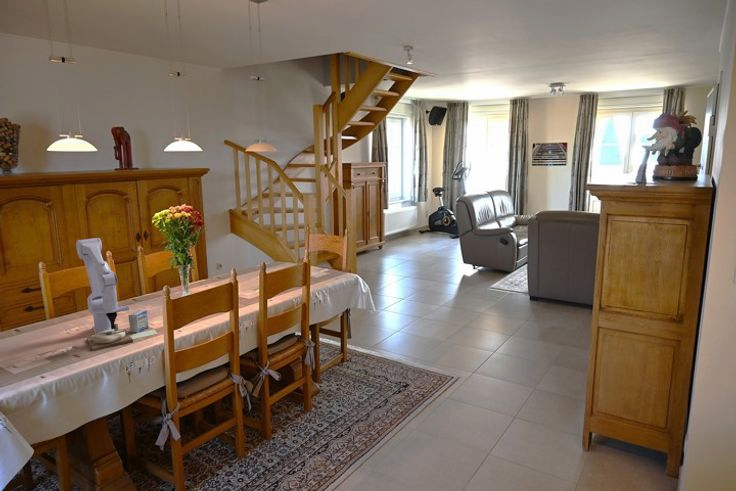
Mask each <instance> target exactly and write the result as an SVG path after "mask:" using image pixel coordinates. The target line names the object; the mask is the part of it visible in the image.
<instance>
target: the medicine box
mask: <svg viewBox="0 0 736 491" xmlns="http://www.w3.org/2000/svg"><path fill="white" fill-rule="evenodd" d="M148 316H149V315H148V311H147V310H145V309H140V310H137V311H135V312H133V313H130V314H128V322H129V324H128V325H129V332H130V333H134V334H135V333H140V332H144V331H145V330H146V329H148V328H149V317H148Z"/></svg>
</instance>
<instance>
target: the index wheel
mask: <svg viewBox="0 0 736 491" xmlns="http://www.w3.org/2000/svg"><path fill="white" fill-rule="evenodd" d="M114 326H115V329H112V330H106V331H102V332H99V333H95V334H93V335H92V336H93V342H95V343H110V342H115V341H118V340H120V339H122V338H124V337H125V331H124V330H125V329H119V324H118V323H114Z"/></svg>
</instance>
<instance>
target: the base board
mask: <svg viewBox="0 0 736 491" xmlns="http://www.w3.org/2000/svg"><path fill="white" fill-rule="evenodd" d="M123 330H124V331H125V337H124V338H122V339H120V340H118V341H115V342H110V343H95V342H93V335H92V336H87V337H86V341H87V343H88V344H89V347H90V349H91V350H92V351H93V352H95V351H97V350H103V349H107V348H112V347H116V346H121V345H125V344H130V343H134V339H132V338H131V337H130V335H131V334H129V332H127V330H126V329H123Z"/></svg>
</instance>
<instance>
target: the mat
mask: <svg viewBox="0 0 736 491" xmlns="http://www.w3.org/2000/svg"><path fill="white" fill-rule="evenodd" d="M129 335H130V337H131V338H132V339H133V340H136V339H140V338H145V337H146V338H147V337H150V336H154V335H158V332H157V331H156V329H151V330H146V331H145V330H144V331H141V332H139V333H135V332H134V333H132V334H129Z"/></svg>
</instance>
